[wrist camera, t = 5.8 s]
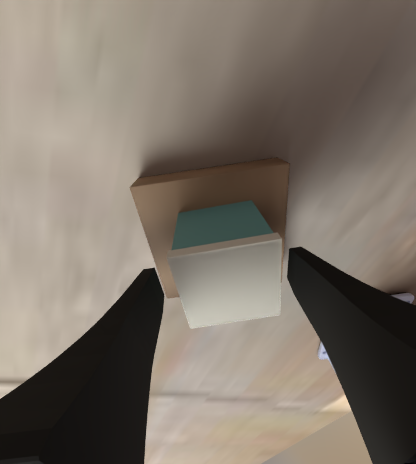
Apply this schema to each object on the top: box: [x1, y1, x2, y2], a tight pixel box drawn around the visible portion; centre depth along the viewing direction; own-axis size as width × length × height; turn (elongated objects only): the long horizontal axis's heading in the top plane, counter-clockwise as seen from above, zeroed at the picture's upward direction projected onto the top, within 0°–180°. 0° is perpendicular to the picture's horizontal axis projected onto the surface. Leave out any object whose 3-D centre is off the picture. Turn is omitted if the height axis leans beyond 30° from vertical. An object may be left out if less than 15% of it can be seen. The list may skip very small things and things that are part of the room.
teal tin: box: [167, 200, 282, 329], centre depth 11 cm, size 5×5×5 cm
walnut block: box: [130, 158, 290, 298], centre depth 14 cm, size 9×9×2 cm
